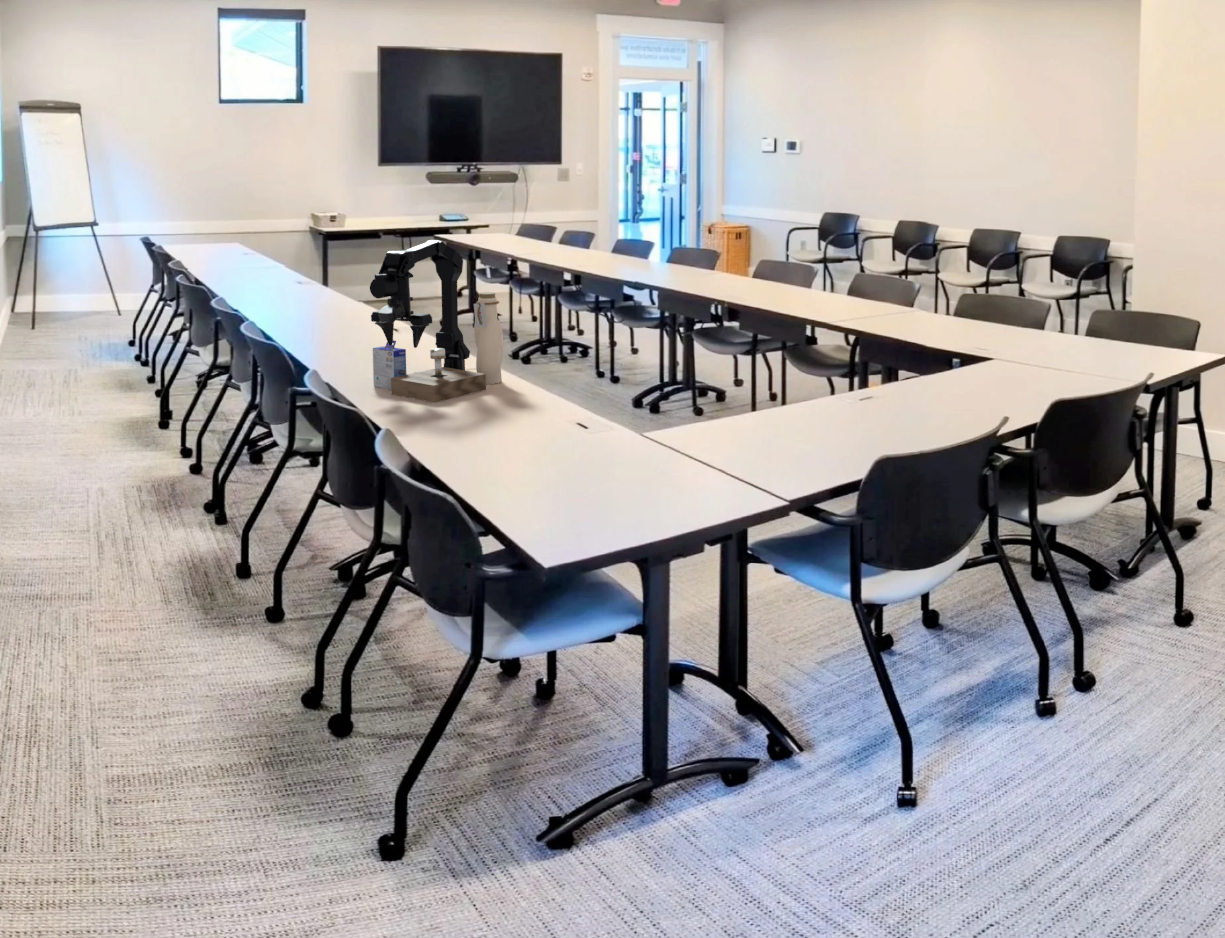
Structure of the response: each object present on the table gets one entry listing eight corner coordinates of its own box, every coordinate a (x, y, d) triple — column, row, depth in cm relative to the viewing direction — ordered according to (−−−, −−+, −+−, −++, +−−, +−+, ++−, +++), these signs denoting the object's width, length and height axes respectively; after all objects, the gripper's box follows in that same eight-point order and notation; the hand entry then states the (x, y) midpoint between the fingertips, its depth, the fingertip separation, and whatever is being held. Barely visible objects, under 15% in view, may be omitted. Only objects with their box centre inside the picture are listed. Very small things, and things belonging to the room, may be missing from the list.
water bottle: (498, 386, 351) (495, 295, 343) (470, 385, 353) (467, 295, 345) (507, 379, 361) (505, 291, 353) (480, 378, 362) (478, 290, 355)
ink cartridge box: (408, 387, 348) (406, 341, 344) (395, 390, 344) (392, 343, 340) (386, 383, 354) (384, 337, 350) (373, 386, 350) (370, 340, 346)
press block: (443, 382, 356) (443, 367, 355) (486, 389, 346) (485, 373, 344) (391, 394, 339) (390, 377, 338) (434, 402, 329) (433, 385, 327)
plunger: (438, 376, 344) (437, 347, 342) (449, 377, 342) (448, 349, 339) (428, 378, 341) (427, 349, 338) (438, 380, 338) (437, 351, 336)
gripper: (357, 295, 332) (361, 348, 337) (409, 299, 324) (412, 353, 329) (381, 291, 342) (384, 342, 346) (432, 294, 334) (434, 347, 338)
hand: (403, 346), depth 340 cm, fingers open, 9 cm apart
